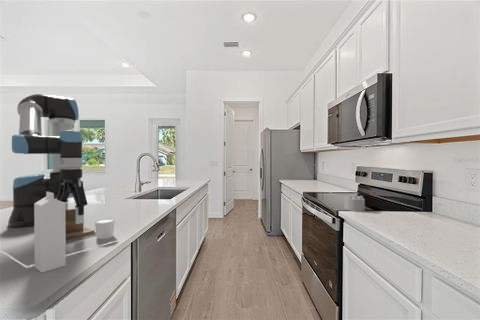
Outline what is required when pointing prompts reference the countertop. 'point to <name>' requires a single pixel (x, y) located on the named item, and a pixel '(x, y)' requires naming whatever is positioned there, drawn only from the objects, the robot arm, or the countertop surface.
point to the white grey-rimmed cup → (104, 228)
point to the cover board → (75, 234)
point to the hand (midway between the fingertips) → (71, 220)
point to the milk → (49, 233)
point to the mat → (81, 238)
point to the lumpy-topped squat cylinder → (355, 203)
